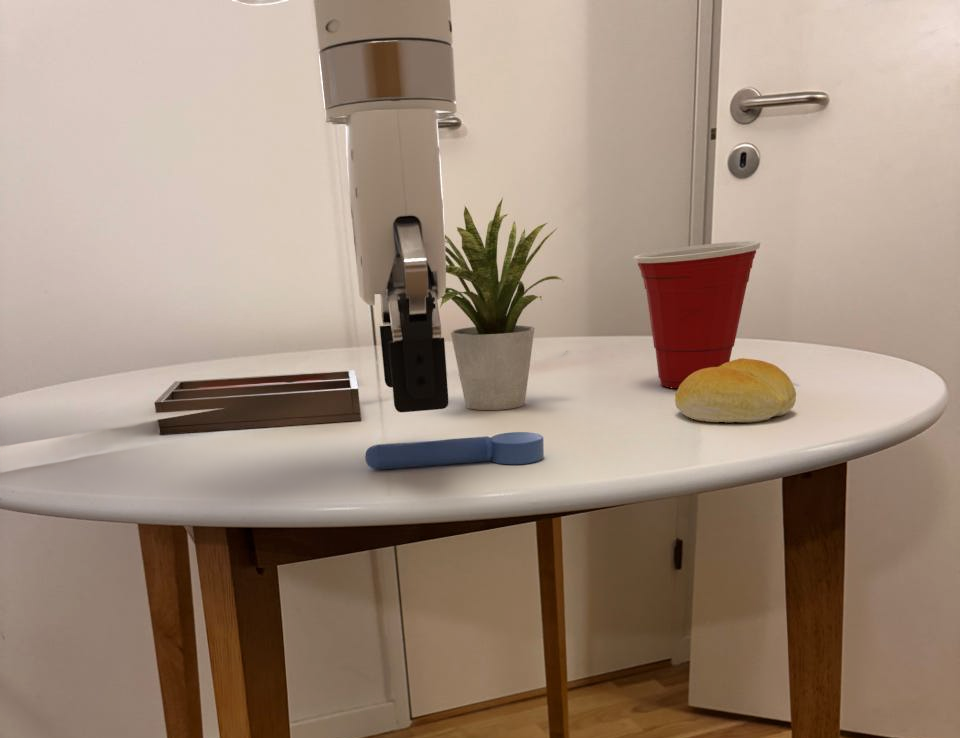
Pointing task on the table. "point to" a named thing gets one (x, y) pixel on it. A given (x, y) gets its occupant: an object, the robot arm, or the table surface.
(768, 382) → the bread roll
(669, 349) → the plastic cup
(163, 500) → the table surface
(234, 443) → the table surface
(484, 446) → the blue spoon
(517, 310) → the house plant
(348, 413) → the organiser
